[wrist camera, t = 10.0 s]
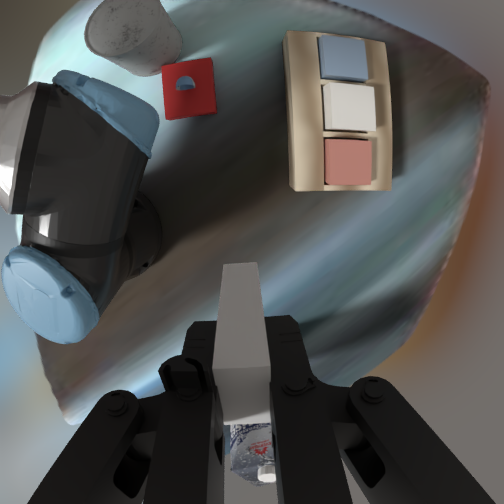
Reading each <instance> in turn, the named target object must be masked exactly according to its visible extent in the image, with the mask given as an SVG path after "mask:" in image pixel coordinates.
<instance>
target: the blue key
mask: <svg viewBox="0 0 504 504" xmlns="http://www.w3.org/2000/svg"><path fill="white" fill-rule="evenodd" d="M317 47H318V58H319V69H320V79H325V80H337V81H348V82H356V83H361V82H363V81H366V80H368V69H367V60H366V51H365V43H364V41H363V40H358V39H351V38H344V37H337V36H328V35H321V37H320V38H319V39H318V40H317Z"/></svg>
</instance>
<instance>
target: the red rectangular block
mask: <svg viewBox="0 0 504 504" xmlns="http://www.w3.org/2000/svg"><path fill="white" fill-rule="evenodd" d="M161 68H162V83H163V95H164V107H165V117H166V120H175V119H181V118H187V117H194V116H201V115H208V114H215V113H217V106H216V95H215V84H214V73H213V62H212V59H211V57H210V58H203V59H197V60H191V61H185V62H179V63H174V64H169V65H164V66H161Z"/></svg>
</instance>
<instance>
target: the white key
mask: <svg viewBox="0 0 504 504" xmlns="http://www.w3.org/2000/svg"><path fill="white" fill-rule="evenodd" d="M323 93H324V111H325V129H333V130H352V131H376V116H375V97H374V87H370V86H362V85H354V84H344V83H333V82H330V83H328V84H326V85H325V86H323Z"/></svg>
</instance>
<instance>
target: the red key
mask: <svg viewBox="0 0 504 504" xmlns="http://www.w3.org/2000/svg"><path fill="white" fill-rule="evenodd" d="M323 144H324V182H325V183H327V184H329V185H371V166H372V141H361V140H341V139H323Z"/></svg>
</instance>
